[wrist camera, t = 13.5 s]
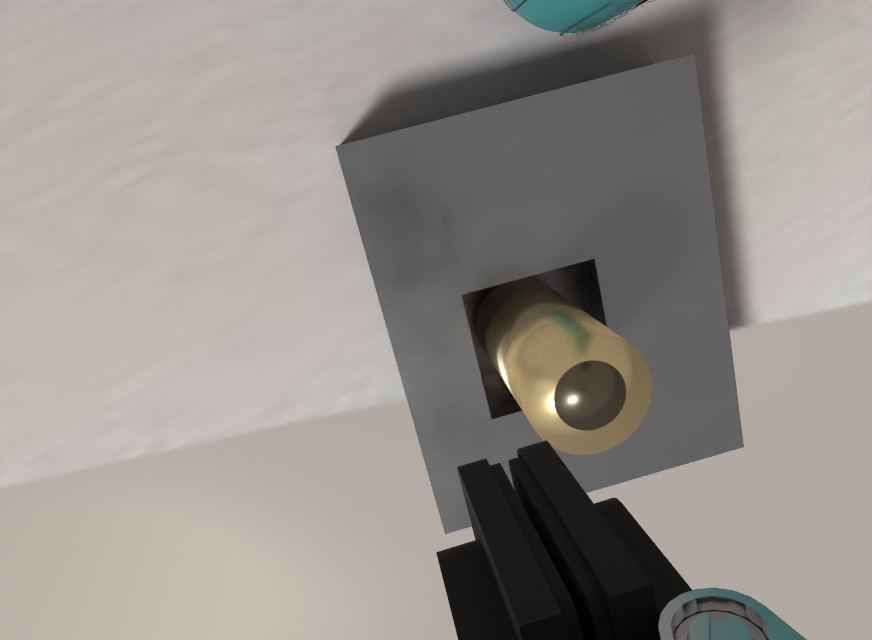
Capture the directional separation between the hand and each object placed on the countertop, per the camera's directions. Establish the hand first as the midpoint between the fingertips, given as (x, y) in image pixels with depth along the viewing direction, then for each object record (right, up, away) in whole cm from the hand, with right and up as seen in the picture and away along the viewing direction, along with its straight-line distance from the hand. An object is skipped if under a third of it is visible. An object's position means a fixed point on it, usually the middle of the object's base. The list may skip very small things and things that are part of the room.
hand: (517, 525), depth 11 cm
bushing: (+2, +3, +18) cm, 18 cm away
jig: (+3, +5, +18) cm, 19 cm away
